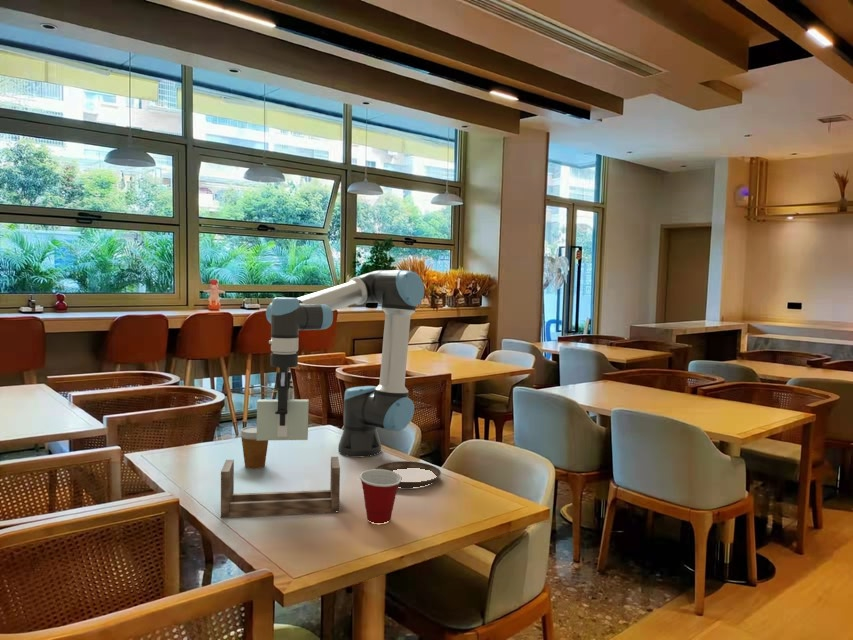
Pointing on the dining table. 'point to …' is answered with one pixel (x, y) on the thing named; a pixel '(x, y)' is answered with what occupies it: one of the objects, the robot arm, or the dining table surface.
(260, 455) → the disposable coffee cup
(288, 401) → the white flat block
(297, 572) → the dining table surface
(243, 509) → the wooden rack
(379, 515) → the plastic cup
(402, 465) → the plant saucer
